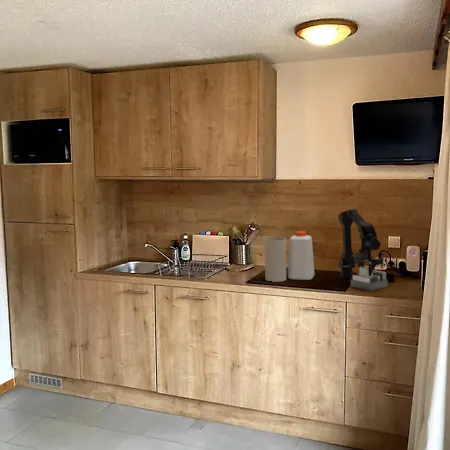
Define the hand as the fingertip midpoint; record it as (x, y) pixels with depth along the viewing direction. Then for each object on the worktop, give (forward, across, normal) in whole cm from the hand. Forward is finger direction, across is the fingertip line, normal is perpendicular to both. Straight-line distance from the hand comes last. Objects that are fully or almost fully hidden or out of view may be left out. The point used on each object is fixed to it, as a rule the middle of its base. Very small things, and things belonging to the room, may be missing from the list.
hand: (365, 275), depth 276 cm
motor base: (+7, 0, +2) cm, 7 cm away
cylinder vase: (+7, -46, -26) cm, 53 cm away
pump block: (+2, 0, 0) cm, 2 cm away
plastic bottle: (+7, -41, -10) cm, 43 cm away
